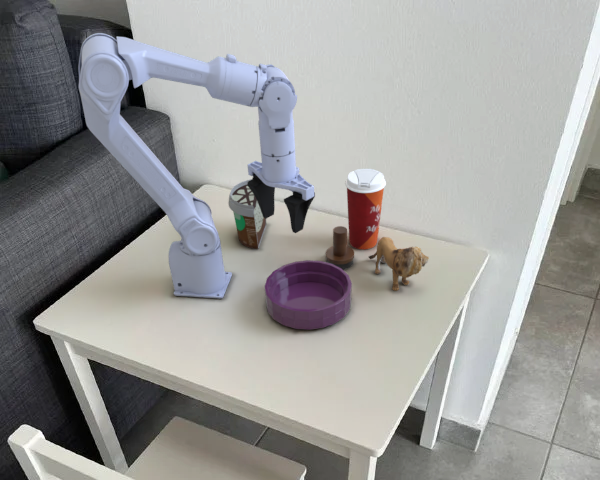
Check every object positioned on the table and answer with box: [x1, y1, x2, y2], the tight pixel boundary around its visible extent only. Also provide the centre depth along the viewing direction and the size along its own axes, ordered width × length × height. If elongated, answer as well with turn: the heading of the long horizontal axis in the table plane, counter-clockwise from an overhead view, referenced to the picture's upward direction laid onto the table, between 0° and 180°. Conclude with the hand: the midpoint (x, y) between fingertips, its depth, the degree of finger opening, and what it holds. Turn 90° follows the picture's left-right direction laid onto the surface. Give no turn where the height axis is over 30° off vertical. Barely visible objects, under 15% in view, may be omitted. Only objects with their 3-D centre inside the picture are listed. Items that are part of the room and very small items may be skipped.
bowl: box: [264, 259, 353, 331], centre depth 111 cm, size 15×15×4 cm
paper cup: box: [344, 168, 387, 250], centre depth 122 cm, size 8×8×14 cm
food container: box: [228, 178, 267, 250], centre depth 126 cm, size 12×6×10 cm, turn 172°
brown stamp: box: [325, 225, 355, 271], centre depth 119 cm, size 6×6×7 cm
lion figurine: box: [368, 236, 430, 292], centre depth 115 cm, size 15×5×9 cm, turn 33°
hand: (283, 223), depth 113 cm, fingers open, 7 cm apart
